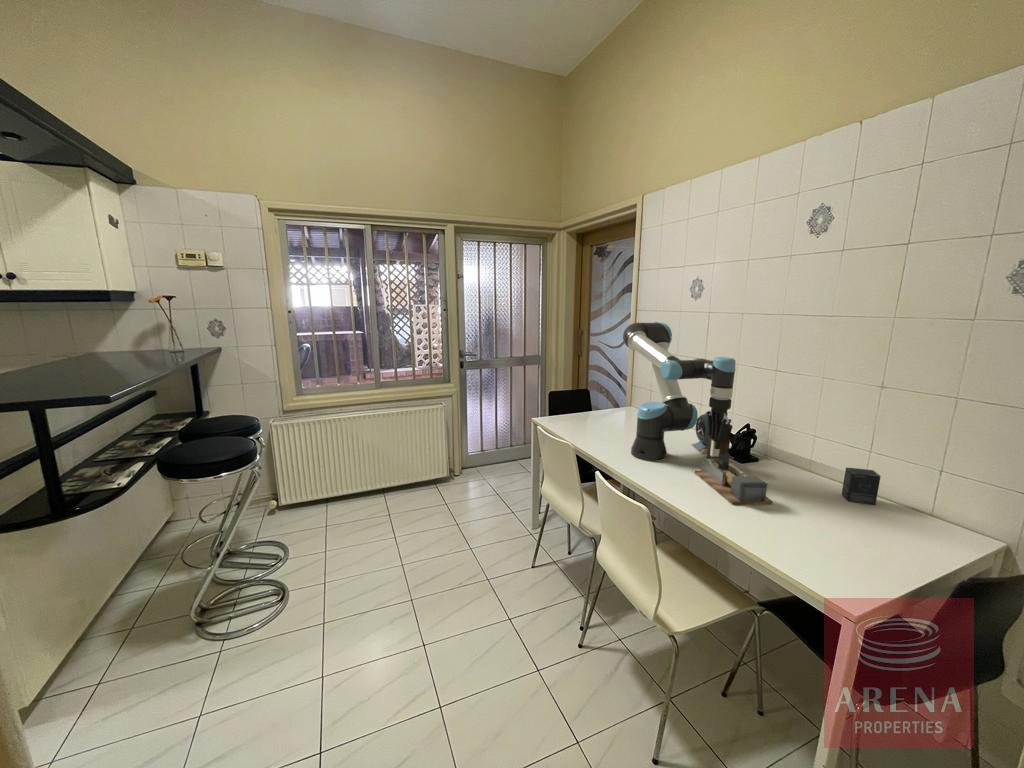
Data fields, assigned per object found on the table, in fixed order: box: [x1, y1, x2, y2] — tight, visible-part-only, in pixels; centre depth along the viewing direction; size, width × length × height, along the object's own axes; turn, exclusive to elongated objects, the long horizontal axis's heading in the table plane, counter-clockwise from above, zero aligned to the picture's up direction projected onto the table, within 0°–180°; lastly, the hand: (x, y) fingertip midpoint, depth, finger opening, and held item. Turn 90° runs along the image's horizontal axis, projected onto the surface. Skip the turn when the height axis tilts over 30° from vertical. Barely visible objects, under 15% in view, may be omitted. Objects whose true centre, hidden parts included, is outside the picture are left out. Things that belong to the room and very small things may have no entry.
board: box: [694, 469, 774, 506], centre depth 148 cm, size 26×14×1 cm, turn 3°
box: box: [841, 466, 882, 506], centre depth 138 cm, size 8×6×11 cm
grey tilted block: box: [701, 458, 745, 486], centre depth 153 cm, size 14×8×5 cm, turn 3°
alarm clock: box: [690, 412, 709, 455], centre depth 185 cm, size 14×10×18 cm
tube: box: [713, 452, 735, 486], centre depth 151 cm, size 14×4×10 cm, turn 3°
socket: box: [730, 475, 768, 502], centre depth 137 cm, size 6×8×6 cm
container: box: [705, 423, 733, 459], centre depth 166 cm, size 9×9×18 cm
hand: (714, 455), depth 159 cm, fingers closed
